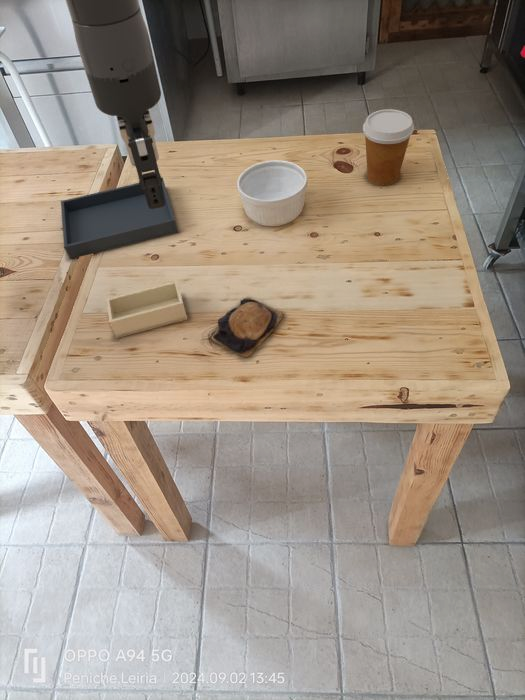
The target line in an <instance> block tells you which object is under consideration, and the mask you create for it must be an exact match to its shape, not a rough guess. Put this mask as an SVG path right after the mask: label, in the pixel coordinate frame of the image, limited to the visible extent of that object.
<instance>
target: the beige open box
mask: <svg viewBox="0 0 525 700" xmlns="http://www.w3.org/2000/svg"><path fill="white" fill-rule="evenodd" d="M106 307H107V315H108V321H109V325H110V326H111V328H112V332H113V333H114V336H115V337H116V338H117V339H119V338H123V337H126V336H130V335H134V334H139V333H142V332H145V331H148V330H152V329H156V328H160V327H164V326H168V325H171V324H175V323H179V322H183V321H186V320H188V315H187V312H186V308H185V304H184V301H183V297H182V293H181V290H180V287H179V283H178V280H174V281H170V282H168V283H163V284H159V285H155V286H151V287H148V288H143V289H139V290H135V291H131V292H127V293H123V294H120V295H116V296H112V297H108V298H106Z"/></svg>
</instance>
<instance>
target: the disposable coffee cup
mask: <svg viewBox="0 0 525 700" xmlns="http://www.w3.org/2000/svg"><path fill="white" fill-rule="evenodd" d="M414 129H415V125H414V122H413V118H412V116H411V115H410V114H408V113H407V112H405V111H402V110H399V109H391V108H388V109H387V108H386V109H380V110H376V111H374V112H371V113H370V114H369V115H368V116H367V117H366V119H365V122H364V123H363V125H362V131H363V133H364V138H365V139H364V141H365V157H366V174H367V179H368V181H369V182H370V183H372V184H374V185H376V186H390V185H393V184H395V183H396V182H397V181H398V180H399V177H400V175H401V174H400V173H401V170H402V166H403V163H404V160H405V157H406V152H407V148H408V145H409V141H410V137H411V136H412V134H413V133H414V131H415V130H414Z"/></svg>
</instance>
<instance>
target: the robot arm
mask: <svg viewBox="0 0 525 700" xmlns="http://www.w3.org/2000/svg"><path fill="white" fill-rule="evenodd" d="M65 3H66V7H67V9H68V12H69V16H70V19H71V23H72V26H73V27H72V28H73V32H74V37H75V42H76V46H77V49H78V52H79V53H78V54H79V57H80V59H81V62H82V65H83V68H84V72H85V75H86V77H87V81H88V84H89V88H90V91H91V94H92V97H93V100H94V103H95V106H96V108H97V109H98V110H99V111H100V112H101V113H103V114H105V115H107V116H111V117H116V120H117V124H118V130H119V133H120V137H121V140H122V141H123V142H124V144H125V147H126V152H127V155H128V159H129V162H130V165H132V166H134V167H135V169H136V173H137V176H138V178H137V179H138V183H139V185H140V186H141V187H142V189H143V190H144V193H145V197H146V200H147V204H148V207H149V208H150V209H155V208H159V207H163V206H165V199H164V195H163V191H162V187H161V185H162V182H161V181H162V177H163V176H162V174H161V173H160V170H159V166H158V161H159V159H160V153H159V151H158V147H157V144H156V139H155V135H156V130H155V126H154V123H153V120H152V117H151V113H150V109H153V108H154V107H155V106H156V105H157V104H158V103H159V101H160V100H161V96H162V90H161V86H160V82H159V77H158V72H157V67H156V62H155V58H154V54H153V49H152V43H151V40H150V36H149V35H150V34H149V31H148V27H147V25H146V22H145V19H144V16H143V13H142V9H141V5H140V1H139V0H65Z"/></svg>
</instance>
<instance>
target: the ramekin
mask: <svg viewBox="0 0 525 700" xmlns="http://www.w3.org/2000/svg"><path fill="white" fill-rule="evenodd" d="M236 187H237V193H238V195H239V197H240V200H241V202H242V206H243V209H244V213H245V214H246V216H247V217H248V218H249V219H250V220H251V221H253V222H254V223H255V224H258V225H261V226H264V227H278V226H279V227H280V226H283V225H286V224H289V223H292V222H293V221H294V220H296V218H298V216H300V215H301V213H302V211H303V210H304V206H305V201H306V192H307V191H306V190H307V187H308V177H307V173H306V171H305V170H304V169H303V168H302V167H301V166H299V165H298V164H296V163H295V162H291V161H287V160H279V159H274V160H273V159H272V160H265V161H261V162H258V163H255V164H253V165H250V166H249V167H247V168H245V170H243V171H242V172H241V173H240V174H239V177H238V179H237V182H236Z"/></svg>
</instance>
